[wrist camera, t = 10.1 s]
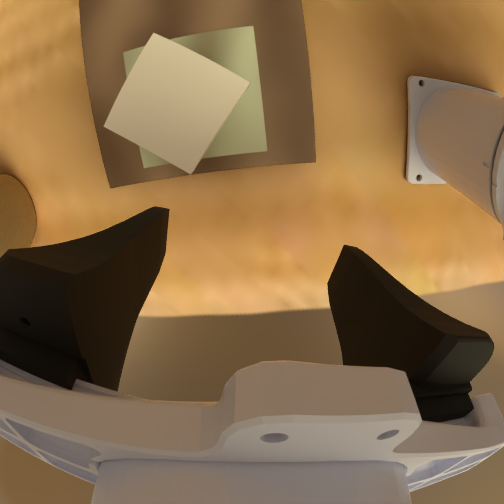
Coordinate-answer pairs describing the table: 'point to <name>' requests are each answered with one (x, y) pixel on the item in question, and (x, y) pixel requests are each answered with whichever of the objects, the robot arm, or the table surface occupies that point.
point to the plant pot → (15, 215)
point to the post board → (221, 52)
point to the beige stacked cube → (175, 102)
